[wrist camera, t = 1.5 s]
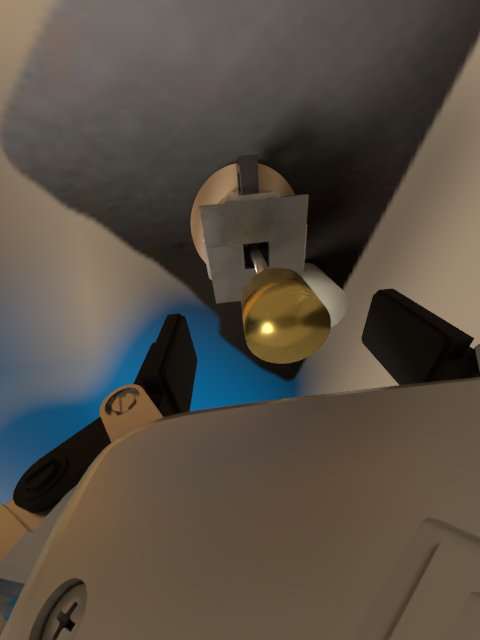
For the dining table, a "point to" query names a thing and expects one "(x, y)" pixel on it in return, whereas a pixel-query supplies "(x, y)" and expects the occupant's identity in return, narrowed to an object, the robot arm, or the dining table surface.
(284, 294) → the plunger
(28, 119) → the dining table surface
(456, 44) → the dining table surface
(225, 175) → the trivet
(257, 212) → the grey handled container
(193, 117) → the dining table surface
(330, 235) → the dining table surface
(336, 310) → the mug
